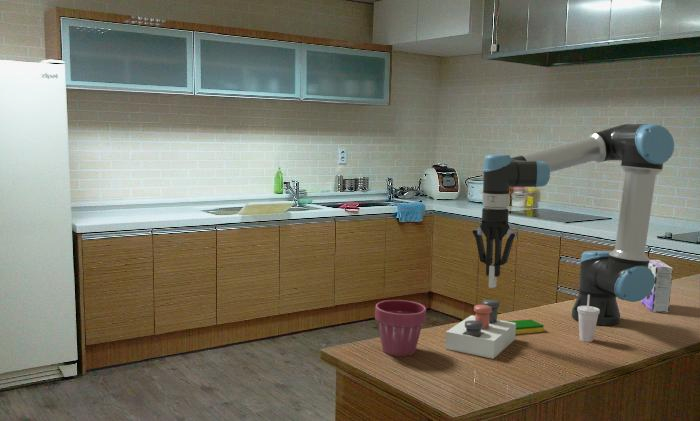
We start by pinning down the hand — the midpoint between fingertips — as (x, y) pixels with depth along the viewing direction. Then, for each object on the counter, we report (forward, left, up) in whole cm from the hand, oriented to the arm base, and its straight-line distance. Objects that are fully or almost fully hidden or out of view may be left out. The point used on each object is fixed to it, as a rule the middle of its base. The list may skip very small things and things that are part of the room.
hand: (492, 286), depth 190 cm
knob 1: (0, +13, -14) cm, 19 cm away
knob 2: (0, -1, -11) cm, 11 cm away
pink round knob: (0, +6, -11) cm, 13 cm away
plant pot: (+17, +25, -16) cm, 35 cm away
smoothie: (-25, -16, -16) cm, 33 cm away
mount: (0, +6, -16) cm, 17 cm away
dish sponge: (-5, -14, -16) cm, 22 cm away
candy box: (-38, -69, -16) cm, 80 cm away
